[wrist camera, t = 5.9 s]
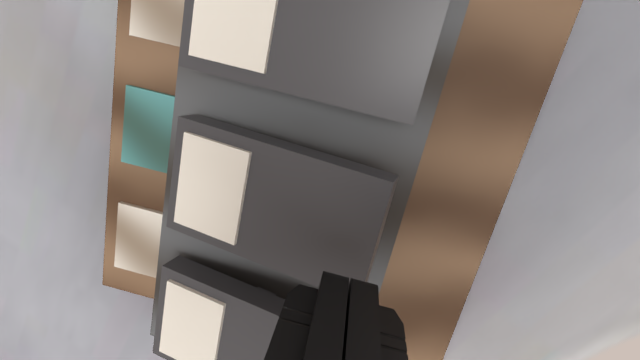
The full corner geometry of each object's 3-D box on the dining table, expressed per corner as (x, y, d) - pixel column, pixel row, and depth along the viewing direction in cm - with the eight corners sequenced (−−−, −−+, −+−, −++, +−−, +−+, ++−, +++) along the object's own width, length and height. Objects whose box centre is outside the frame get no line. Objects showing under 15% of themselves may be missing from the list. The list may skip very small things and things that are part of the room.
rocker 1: (221, -65, 15) (190, -87, 13) (455, -21, 14) (461, -38, 12) (205, 66, 17) (174, 65, 15) (414, 119, 15) (412, 126, 13)
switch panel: (135, -95, 20) (61, -144, 15) (574, -1, 19) (642, -23, 14) (112, 276, 27) (55, 322, 22) (433, 365, 25) (446, 435, 21)
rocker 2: (207, 112, 18) (174, 116, 16) (402, 171, 15) (393, 184, 13) (194, 212, 19) (163, 228, 17) (369, 279, 17) (357, 306, 15)
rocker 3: (189, 248, 20) (159, 267, 18) (358, 318, 18) (345, 348, 16) (179, 329, 21) (149, 355, 19) (333, 402, 19) (317, 440, 17)
